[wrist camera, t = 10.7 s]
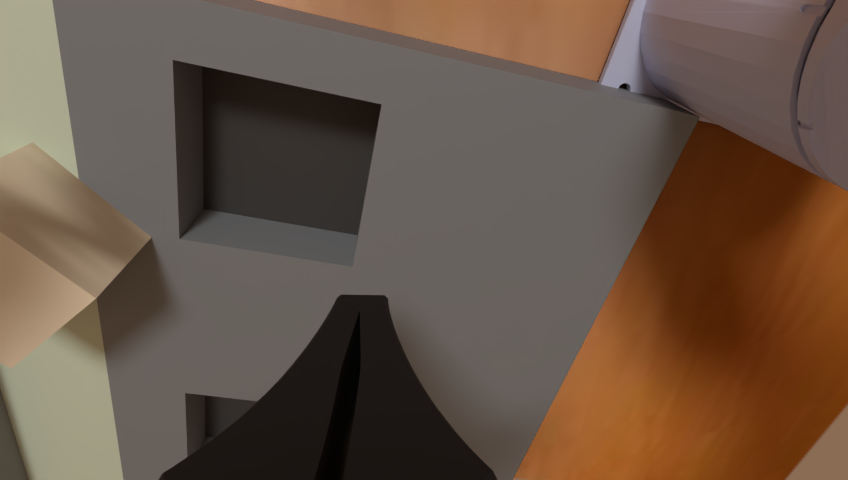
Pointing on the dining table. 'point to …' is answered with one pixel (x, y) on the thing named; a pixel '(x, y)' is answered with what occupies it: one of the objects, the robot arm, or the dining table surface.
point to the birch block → (53, 249)
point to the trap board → (312, 219)
